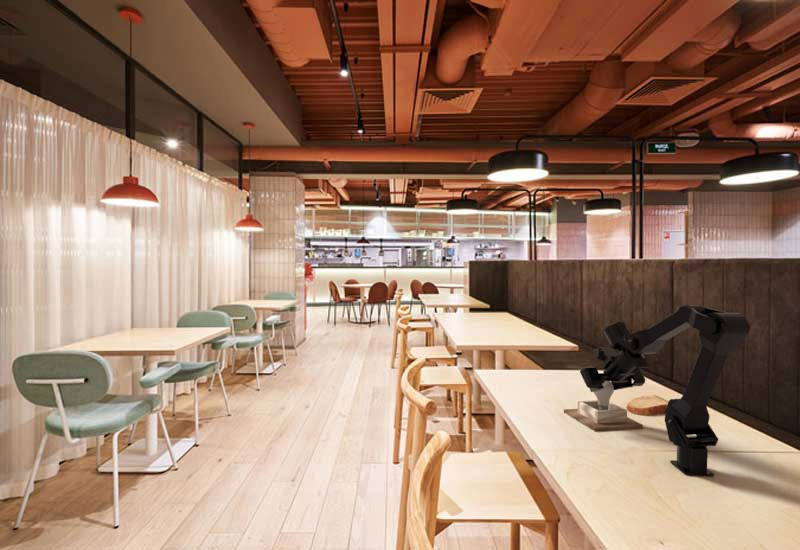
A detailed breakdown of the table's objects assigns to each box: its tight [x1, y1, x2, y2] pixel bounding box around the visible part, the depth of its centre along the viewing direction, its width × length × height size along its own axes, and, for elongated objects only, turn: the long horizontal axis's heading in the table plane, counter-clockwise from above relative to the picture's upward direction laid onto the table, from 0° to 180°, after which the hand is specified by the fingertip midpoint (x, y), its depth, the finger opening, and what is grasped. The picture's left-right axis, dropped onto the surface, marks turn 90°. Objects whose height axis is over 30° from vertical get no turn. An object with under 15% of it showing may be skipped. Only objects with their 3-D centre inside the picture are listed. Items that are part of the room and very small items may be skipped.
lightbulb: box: [593, 381, 615, 410], centre depth 134 cm, size 6×6×11 cm
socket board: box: [563, 400, 644, 432], centre depth 134 cm, size 16×16×4 cm
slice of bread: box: [626, 394, 669, 417], centre depth 146 cm, size 18×18×4 cm
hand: (599, 390), depth 135 cm, fingers closed on lightbulb, 6 cm apart
